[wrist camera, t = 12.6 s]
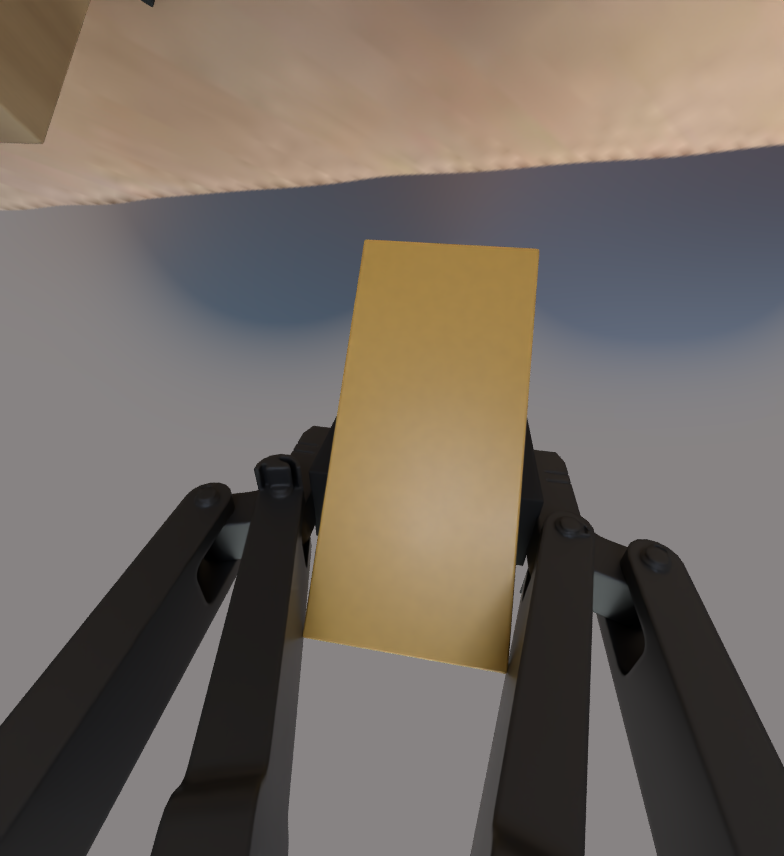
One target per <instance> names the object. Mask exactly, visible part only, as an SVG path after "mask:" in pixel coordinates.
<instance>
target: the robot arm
mask: <svg viewBox="0 0 784 856" xmlns="http://www.w3.org/2000/svg"><path fill="white" fill-rule="evenodd" d="M336 419H337V416H336V418H335V420H334V422H333V424H332V426H331V428H327V427H319V426H312V427H311V428H310V429H308V430H307V431H306V432H304V433H303V435H302V436H301V438H300V440H299V441H298V444H297V445H296V446H295V448H294V451H293V452H292V453H291V455H285V454H278V455H272V456H269V457H267V458H264V459H263V460H261V461H260V462H259V463H257V465H256V467H255V468H254V472H255V476H256V480H257V485H258V489H259V490H257V491H252V492H245V493H236V494H232V493H231V490H230V488H229V487H228V486H227V485H225V484H222V483H208V484H204V485H201V486H199V487H197V488H195V489H193V490H192V491H191V492H189V493H188V494H187V495H186V497H185V498H184V499H183V500H182V501H181V503H180V504H179V505H178V506H177V508H176V509H175V510H174V511H173V512H172V514H171V515H170V516H169V517H168V519H167V520H166V521H165V522H164V524H163V525H162V526H161V527H160V529H159V530H158V531H157V532H156V534H155V535H154V536H153V537H152V538H151V540H150V541H149V542H148V544H147V545H146V546H145V547H144V548H143V550H142V551H141V552H140V553H139V555H138V556H137V557H136V558H135V560H134V561H133V562H132V564H131V565H130V566H129V567H128V568H127V569H126V571H125V572H124V573H123V575H122V576H121V577H120V578H119V580H118V581H117V582H116V583H115V584H114V586H113V587H112V588H111V589H110V591H109V592H108V593H107V594H106V595H105V597H104V598H103V599H102V601H101V602H100V603H99V604H98V605H97V607H96V608H95V609H94V610H93V612H92V613H91V614H90V615H89V617H88V618H87V619H86V620H85V621H84V623H83V624H82V625H81V626H80V628H79V629H78V630H77V631H76V633H75V634H74V635H73V636H72V638H71V639H70V640H69V642H68V643H67V644H66V645H65V646H64V648H63V649H62V650H61V651H60V652H59V654H58V655H57V656H56V658H55V659H54V660H53V661H52V662H51V664H50V665H49V666H48V668H47V669H46V670H45V671H44V672H43V674H42V675H41V676H40V677H39V679H38V680H37V681H36V682H35V683H34V685H33V686H32V687H31V688H30V690H29V691H28V692H27V693H26V695H25V696H24V697H23V698H22V700H21V701H20V702H19V703H18V705H17V706H16V707H15V708H14V709H13V711H12V712H11V713H10V714H9V716H8V717H7V718H6V719H5V721H4V722H3V723H2V724H1V726H0V856H86V855H87V853H88V851H89V849H90V848H91V846H92V844H93V842H94V840H95V838H96V836H97V835H98V833H99V831H100V829H101V827H102V825H103V823H104V822H105V820H106V818H107V816H108V814H109V812H110V810H111V808H112V807H113V805H114V803H115V801H116V799H117V797H118V795H119V794H120V792H121V790H122V788H123V786H124V784H125V782H126V781H127V779H128V777H129V775H130V773H131V771H132V769H133V767H134V766H135V764H136V762H137V760H138V758H139V756H140V754H141V753H142V751H143V749H144V747H145V745H146V743H147V741H148V740H149V738H150V736H151V734H152V732H153V730H154V728H155V727H156V725H157V723H158V721H159V719H160V717H161V715H162V713H163V712H164V710H165V708H166V706H167V704H168V702H169V701H170V698H171V697H172V695H173V693H174V691H175V689H176V687H177V686H178V684H179V682H180V680H181V678H182V676H183V674H184V673H185V671H186V669H187V667H188V665H189V663H190V661H191V659H192V658H193V656H194V654H195V652H196V650H197V648H198V647H199V645H200V643H201V641H202V639H203V637H204V635H205V633H206V632H207V630H208V628H209V626H210V624H211V622H212V620H213V618H214V617H215V615H216V613H217V611H218V609H219V607H220V606H221V604H222V602H223V600H224V598H225V596H226V594H227V593H228V591H229V589H230V587H231V585H232V583H233V581H234V579H235V578H236V581H235V585H234V589H233V592H232V596H231V600H230V604H229V608H228V612H227V616H226V620H225V624H224V628H223V631H222V636H221V639H220V643H219V647H218V651H217V655H216V659H215V663H214V667H213V670H212V674H211V678H210V682H209V686H208V690H207V694H206V698H205V702H204V705H203V709H202V714H201V717H200V721H199V725H198V729H197V733H196V737H195V741H194V744H193V748H192V752H191V756H190V760H189V764H188V768H187V771H186V774H185V777H184V779H183V781H182V783H181V785H180V786H179V787H178V788H177V789H176V790H175V791H174V792H173V794H172V795H171V797H170V799H169V801H168V803H167V805H166V807H165V809H164V812H163V815H162V818H161V821H160V824H159V827H158V830H157V834H156V838H155V841H154V845H153V849H152V852H151V856H288V806H289V795H290V782H291V772H292V760H293V749H294V738H295V727H296V715H297V704H298V692H299V682H300V670H301V659H302V648H303V629H304V622H305V614H306V603H307V591H308V580H309V569H310V558H311V546H312V545H311V538H310V536H311V533H312V531H313V529H314V526H316V535H317V536H318V533H319V527H320V520H321V514H322V508H323V501H324V495H325V489H326V482H327V476H328V469H329V463H330V457H331V450H332V444H333V438H334V431H335V425H336ZM570 483H571V482H570V478H569V476H568V471H567V468H566V465H565V462H564V461H563V460H562V459H561V458H560V457H559V456H558V454H557V453H556V452H548V451H539V450H534V449H533V444H532V440H531V434H530V430H529V425H528V420H527V422H526V435H525V449H524V462H523V475H522V489H521V502H520V515H519V529H518V542H517V556H516V565H522V566H523V564H524V561H525V558H526V555H527V561H528V570H527V573H526V576H525V578H524V582H523V584H522V587H521V590H520V593H522V595H521V600H520V605H519V610H518V615H517V620H516V625H515V630H514V635H513V641H512V645H511V651H510V656H509V662H508V670H507V673H506V676H505V681H504V686H503V691H502V697H501V702H500V707H499V712H498V717H497V722H496V728H495V733H494V737H493V742H492V748H491V753H490V758H489V763H488V769H487V773H486V778H485V784H484V789H483V794H482V799H481V804H480V810H479V814H478V819H477V824H476V829H475V834H474V840H473V845H472V850H471V854H470V856H584V855H585V824H586V793H587V763H588V734H589V705H590V674H591V645H592V614H593V612H595V613H596V614H597V618H598V622H599V626H600V630H601V634H602V638H603V642H604V646H605V649H606V653H607V657H608V662H609V666H610V670H611V674H612V678H613V681H614V686H615V690H616V693H617V697H618V701H619V705H620V709H621V713H622V717H623V721H624V725H625V729H626V733H627V737H628V741H629V745H630V749H631V753H632V757H633V761H634V765H635V769H636V773H637V777H638V781H639V785H640V789H641V793H642V797H643V801H644V805H645V809H646V813H647V816H648V821H649V824H650V829H651V832H652V836H653V840H654V845H655V848H656V852H657V856H784V767H783V764H782V763H781V760H780V758H779V757H778V754H777V752H776V750H775V748H774V746H773V744H772V743H771V740H770V738H769V736H768V734H767V732H766V730H765V728H764V726H763V724H762V722H761V720H760V718H759V716H758V714H757V712H756V710H755V708H754V706H753V704H752V702H751V700H750V698H749V695H748V693H747V691H746V689H745V687H744V685H743V683H742V681H741V679H740V677H739V675H738V673H737V671H736V669H735V667H734V665H733V663H732V661H731V659H730V657H729V655H728V653H727V651H726V649H725V647H724V645H723V643H722V641H721V639H720V637H719V635H718V633H717V631H716V628H715V627H714V624H713V622H712V620H711V618H710V616H709V615H708V612H707V610H706V608H705V606H704V604H703V602H702V600H701V598H700V596H699V594H698V592H697V590H696V588H695V586H694V584H693V582H692V580H691V578H690V576H689V574H688V572H687V570H686V568H685V566H684V564H683V562H682V561H681V559H680V558H679V557H678V555H676V554H675V553H674V552H673V551H672V550H670V549H669V548H668V547H666V546H664V545H662V544H660V543H658V542H655V541H651V540H647V539H643V540H642V539H637V540H635V541H633V542H631V543H630V544H629V546H628V547H626V546H623V545H620V544H617V543H615V542H612V541H609V540H607V539H605V538H603V537H600V536H599V535H597V534H596V533H594V529H593V527H592V526H591V525H590V523H589V522H588V521H587V520H585V519H584V518H583V517H581V516H580V512H579V509H578V505H577V502H576V499H575V495H574V492H573V488H572V485H571V484H570ZM236 576H237V577H236Z"/></svg>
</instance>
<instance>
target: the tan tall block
mask: <svg viewBox="0 0 784 856" xmlns="http://www.w3.org/2000/svg"><path fill="white" fill-rule="evenodd" d="M89 3H90V0H0V143H24V144H43V143H44V140H45V137H46V134H47V131H48V128H49V125H50V122H51V119H52V116H53V113H54V110H55V107H56V104H57V101H58V98H59V95H60V92H61V88H62V85H63V82H64V79H65V76H66V73H67V70H68V67H69V64H70V61H71V58H72V55H73V52H74V49H75V46H76V43H77V40H78V37H79V34H80V31H81V28H82V25H83V21H84V18H85V15H86V12H87V9H88V6H89Z"/></svg>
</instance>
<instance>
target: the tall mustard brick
mask: <svg viewBox="0 0 784 856" xmlns="http://www.w3.org/2000/svg"><path fill="white" fill-rule="evenodd" d="M538 262H539V250H538V249H530V248H512V247H494V246H475V245H457V244H439V243H419V242H402V241H383V240H365V241H364V247H363V253H362V260H361V266H360V272H359V279H358V285H357V291H356V298H355V305H354V310H353V317H352V323H351V330H350V336H349V342H348V349H347V355H346V362H345V368H344V374H343V380H342V388H341V393H340V400H339V406H338V412H337V419H336V425H335V431H334V438H333V444H332V450H331V457H330V463H329V469H328V476H327V482H326V489H325V495H324V501H323V508H322V514H321V520H320V527H319V533H318V539H317V546H316V552H315V559H314V565H313V571H312V578H311V584H310V590H309V597H308V603H307V609H306V616H305V622H304V629H303V637H304V638H309V639H314V640H320V641H326V642H331V643H337V644H342V645H348V646H354V647H359V648H365V649H370V650H376V651H382V652H387V653H392V654H398V655H403V656H409V657H415V658H420V659H426V660H432V661H437V662H442V663H449V664H453V665H459V666H465V667H470V668H476V669H481V670H487V671H492V672H499V673H504V674H506V673H507V670H508V662H509V648H510V635H511V622H512V608H513V595H514V582H515V568H516V556H517V542H518V529H519V515H520V502H521V489H522V475H523V462H524V449H525V435H526V422H527V408H528V395H529V382H530V367H531V355H532V342H533V328H534V315H535V302H536V288H537V275H538Z"/></svg>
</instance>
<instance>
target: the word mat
mask: <svg viewBox="0 0 784 856" xmlns="http://www.w3.org/2000/svg"><path fill="white" fill-rule="evenodd" d="M141 1H143V2H144V3H146V4H148V5H149V6H151V7H153V5H154V2H155V0H141Z"/></svg>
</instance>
